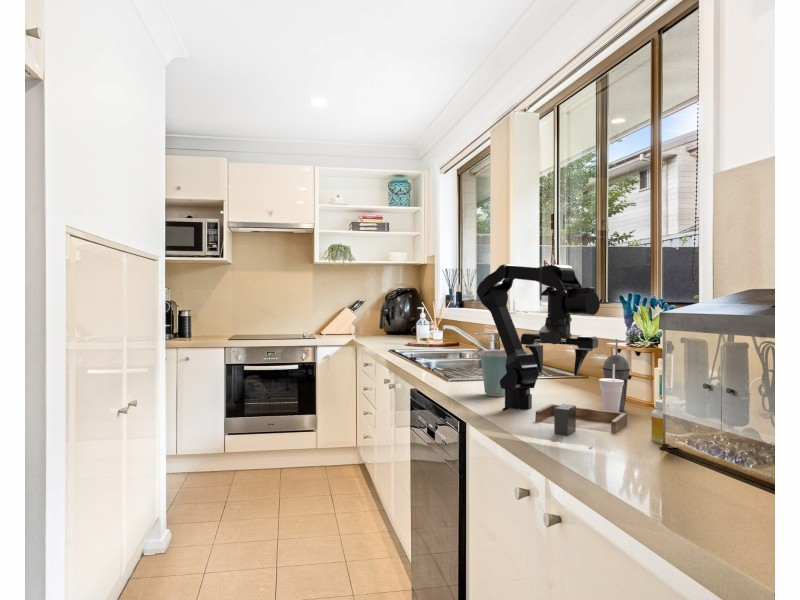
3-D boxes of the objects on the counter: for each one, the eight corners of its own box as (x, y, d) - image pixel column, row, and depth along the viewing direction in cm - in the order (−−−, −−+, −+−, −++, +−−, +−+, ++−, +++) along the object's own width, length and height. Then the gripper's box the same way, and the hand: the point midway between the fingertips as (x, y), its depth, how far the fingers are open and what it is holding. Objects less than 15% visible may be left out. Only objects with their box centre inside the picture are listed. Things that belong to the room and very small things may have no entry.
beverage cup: (601, 410, 156) (602, 339, 155) (602, 405, 162) (603, 338, 162) (629, 412, 153) (630, 340, 153) (629, 408, 160) (630, 339, 160)
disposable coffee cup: (473, 395, 177) (474, 348, 176) (487, 391, 186) (487, 346, 186) (505, 399, 171) (506, 351, 171) (517, 394, 180) (518, 348, 180)
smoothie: (625, 419, 145) (626, 365, 145) (600, 417, 146) (600, 364, 146) (621, 414, 151) (621, 363, 151) (596, 412, 153) (597, 362, 152)
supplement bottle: (667, 451, 115) (668, 404, 115) (645, 444, 120) (646, 399, 120) (684, 448, 117) (685, 402, 117) (662, 441, 122) (663, 398, 122)
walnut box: (535, 425, 137) (535, 411, 136) (550, 417, 146) (551, 404, 146) (615, 437, 126) (615, 421, 126) (626, 427, 135) (626, 413, 135)
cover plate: (532, 438, 125) (532, 406, 125) (546, 430, 133) (546, 400, 133) (586, 447, 119) (586, 413, 119) (597, 438, 126) (597, 406, 126)
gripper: (512, 313, 141) (511, 374, 141) (586, 315, 131) (585, 381, 131) (528, 312, 150) (527, 369, 150) (599, 314, 140) (598, 376, 140)
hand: (557, 373), depth 143 cm, fingers open, 9 cm apart
